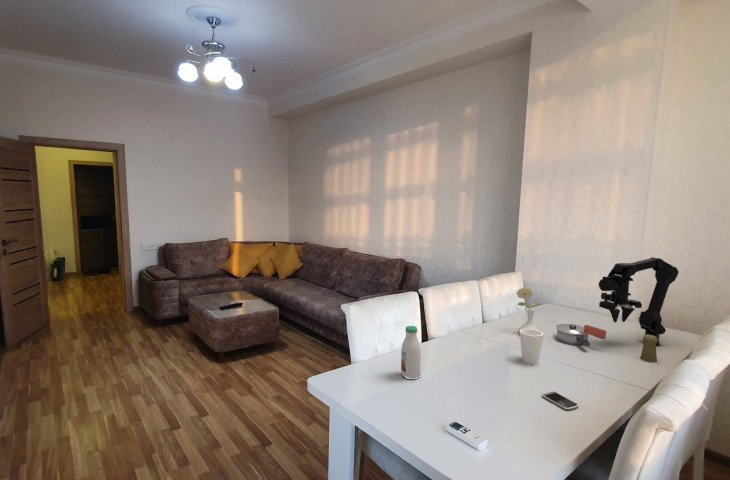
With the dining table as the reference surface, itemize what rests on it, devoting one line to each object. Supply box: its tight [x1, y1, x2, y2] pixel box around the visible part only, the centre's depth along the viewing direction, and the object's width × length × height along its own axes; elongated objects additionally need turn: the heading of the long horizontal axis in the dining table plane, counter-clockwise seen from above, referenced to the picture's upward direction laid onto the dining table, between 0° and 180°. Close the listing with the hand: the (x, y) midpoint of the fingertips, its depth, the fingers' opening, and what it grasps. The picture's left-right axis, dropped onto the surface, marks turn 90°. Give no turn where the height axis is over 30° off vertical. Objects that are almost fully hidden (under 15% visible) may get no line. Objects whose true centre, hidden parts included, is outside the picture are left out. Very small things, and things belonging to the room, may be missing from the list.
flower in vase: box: [515, 287, 541, 334], centre depth 199 cm, size 13×11×25 cm
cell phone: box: [540, 391, 579, 412], centre depth 133 cm, size 6×11×1 cm, turn 24°
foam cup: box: [519, 329, 545, 365], centre depth 166 cm, size 10×9×13 cm
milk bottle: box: [400, 325, 422, 378], centre depth 152 cm, size 8×8×20 cm
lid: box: [555, 323, 607, 340], centre depth 187 cm, size 23×15×5 cm, turn 26°
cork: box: [640, 334, 658, 363], centre depth 168 cm, size 6×6×11 cm
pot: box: [556, 329, 591, 348], centre depth 189 cm, size 24×14×5 cm, turn 176°
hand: (619, 322), depth 183 cm, fingers open, 4 cm apart
